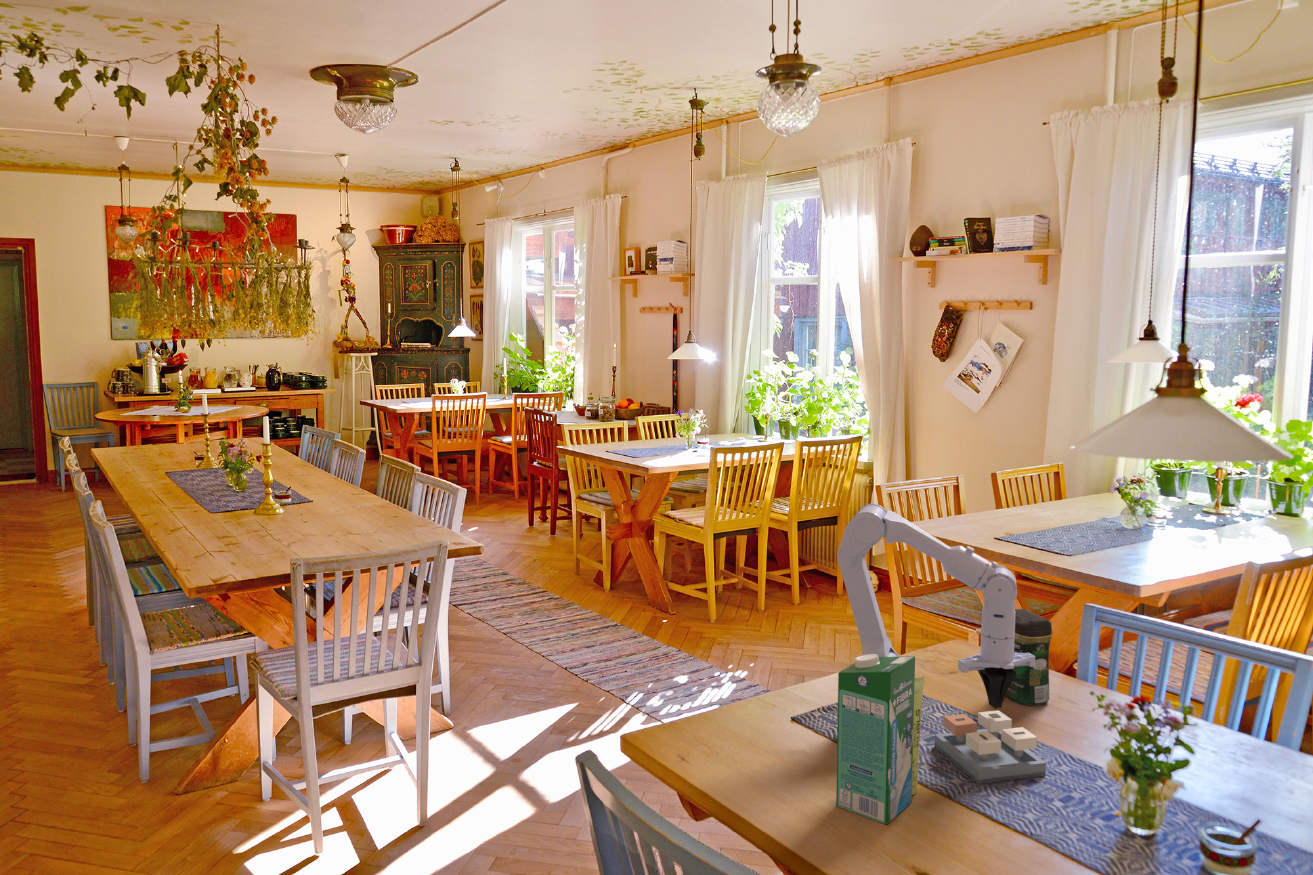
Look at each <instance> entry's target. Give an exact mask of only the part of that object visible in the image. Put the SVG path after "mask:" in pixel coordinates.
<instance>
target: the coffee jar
mask: <svg viewBox="0 0 1313 875" xmlns="http://www.w3.org/2000/svg"><path fill="white" fill-rule="evenodd" d="M1014 610H1015V613H1016V614H1015V638H1014V653H1030V654H1032V655H1034V656H1035V666H1032V667H1030V666H1028V665H1027V666H1017V667H1014V668H1013V670H1014V671H1016V678H1015V679H1014V680H1013V682H1012V683H1011V685H1010V686H1009V688H1008V690H1007V693H1006V695H1005V697H1007V698H1009V699H1010V700H1012V701H1014V702H1015V703H1017V704H1020V705H1026V706H1036V707H1037V706H1042V705H1044V704H1046V703H1048V702H1049V700H1050V657H1049V656H1050V644H1051V640H1052V638H1053V629H1052V628H1053V627H1052V626H1053V625H1052V621H1051V620H1049V619H1047V618H1045V617H1043V616H1041V615H1038V614H1036V613H1033V612H1032V611H1029V610H1027V609H1026V608H1014Z"/></svg>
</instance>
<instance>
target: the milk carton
mask: <svg viewBox="0 0 1313 875" xmlns="http://www.w3.org/2000/svg"><path fill="white" fill-rule="evenodd" d="M853 660H854V663H853V664H851V665H849V666H848V667H846V668H844V669H842V670H841V671H839V672H838V674H837V676H838V678H837V680H838V681H837V683H838V684H837V732H836V733H837V735H836V736H837V742H836V745H837V746H836V793H835V794H836V802H835V805H836V807H838V808H841V809H843V810H846V811H849V812H851V813H854V814H857V815H860V816H862V817H865V818H867V819H871V820H873V821H877V822H879V823H882V824H884V825H888V824H889V823H890V822H892V820H894V818H896V817H897V816H898V815H899V814H900V813H902V811H904V809H905V808H907V807H908V806H909V805H910V804H911V803H912V800H913V795H912V762H913V724H914V685H915V678H916V674H915V673H916V656H911V655H910V656H909V655H907V656H900V657H878V655H877V654H866V655H862V654H861V655H858V656H856V657H854V658H853Z"/></svg>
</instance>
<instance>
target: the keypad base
mask: <svg viewBox="0 0 1313 875" xmlns="http://www.w3.org/2000/svg"><path fill="white" fill-rule="evenodd" d="M983 731H988V730H987V729H985V728H983V729H977V732H983ZM988 732H989V731H988ZM989 733H990V732H989ZM1001 734H1002V731H999V732H998V739H999V740H1000V741H1001V752H1000V753H991V754H987V761H981V760H979V755H978V754H977V753H976V752H975V751H973V750H972V749H971V748H970V747H968V746H967V745H966V735H964V742H957V741H956V736H955V735H954V734H952V733H951V732H947V733H938V734H934V748H935V749H936V750H938V751H939V752H940V754H942V755H943V756H944V757H946V759H948V760H949V761H950V762H951V763H953V764H954V766H956V767H957V768H958V769H959V770H961V771H962V772H963V773H964V774H965V775H966V776H967V777H968V778H970V779H971V780H973V782H975V783H976V784H977V785H982V784H990V783H991V784H992V783H999V782H1009V781H1014V780H1022V779H1023V780H1024V779H1032V778H1039V777H1046V773H1047V772H1046V771H1047V770H1046V769H1047V768H1046V767H1047V763H1046V761H1044V760H1043V759H1041V758H1040V757H1039V756H1038V755H1036V754H1034V752H1032V751H1030V749H1025V750H1023V756H1022V757H1017V756H1015V755H1014V749H1012V748H1011V747H1010V746H1008V745H1007V744H1006V743H1004V742H1003V741H1002V740H1001Z"/></svg>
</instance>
